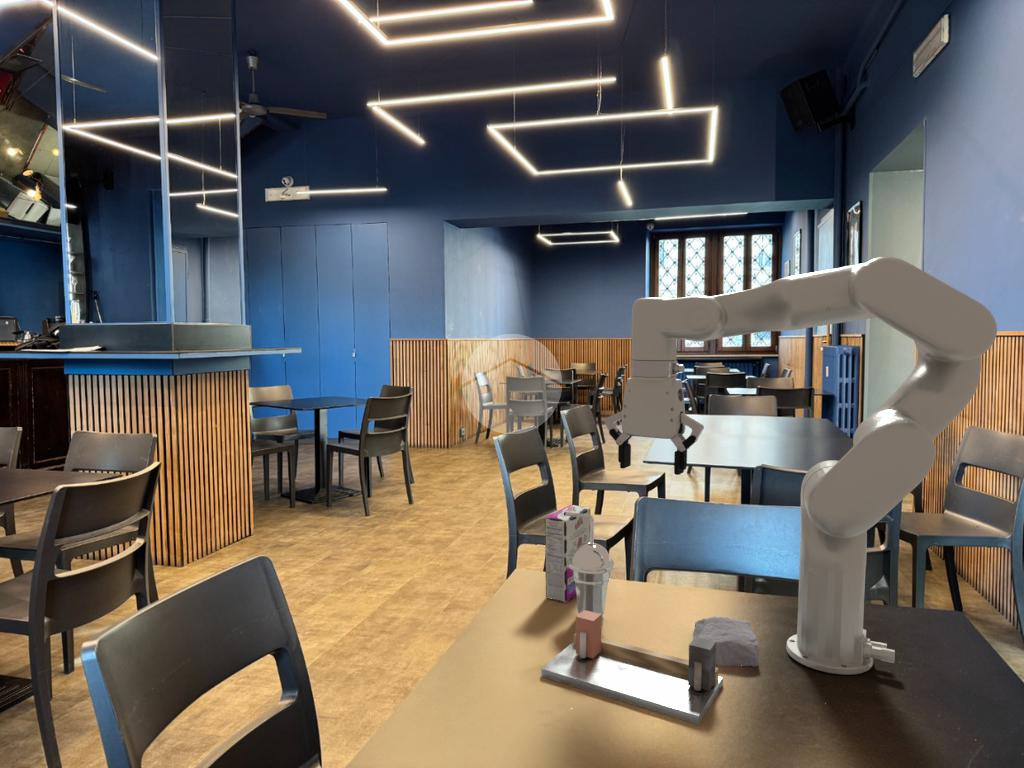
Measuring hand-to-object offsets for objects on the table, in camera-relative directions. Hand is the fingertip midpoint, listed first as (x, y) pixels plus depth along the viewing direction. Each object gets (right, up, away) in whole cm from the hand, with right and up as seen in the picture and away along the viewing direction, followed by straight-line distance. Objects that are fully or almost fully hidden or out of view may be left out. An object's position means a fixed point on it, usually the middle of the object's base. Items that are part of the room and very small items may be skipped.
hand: (651, 470), depth 118 cm
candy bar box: (-13, -27, +20) cm, 36 cm away
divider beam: (-5, -28, -13) cm, 32 cm away
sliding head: (-12, -28, -10) cm, 32 cm away
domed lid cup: (-10, -28, +7) cm, 31 cm away
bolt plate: (-6, -30, -15) cm, 34 cm away
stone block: (+11, -29, -5) cm, 32 cm away
